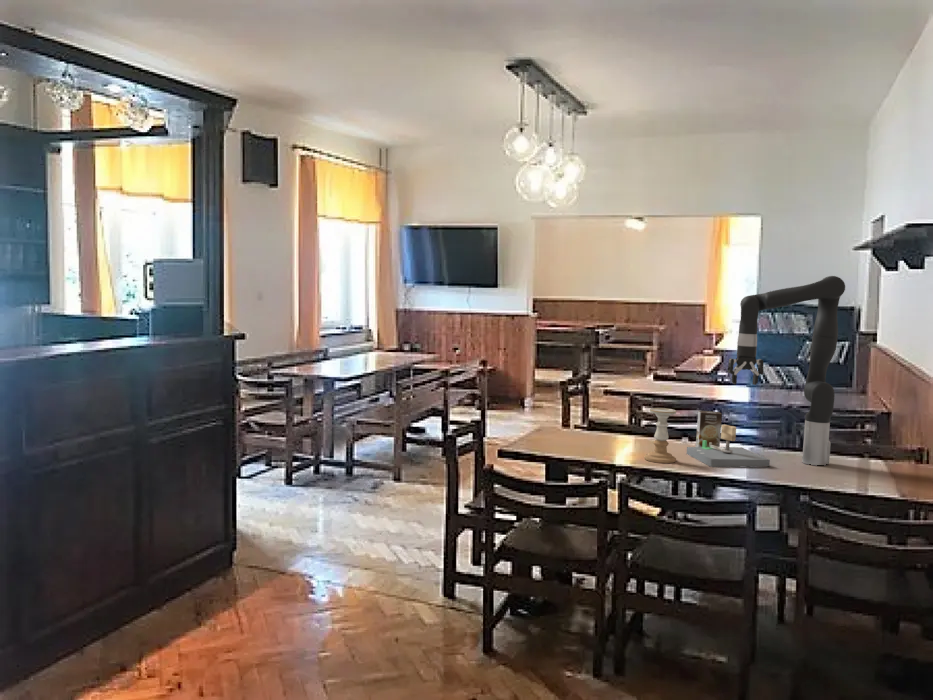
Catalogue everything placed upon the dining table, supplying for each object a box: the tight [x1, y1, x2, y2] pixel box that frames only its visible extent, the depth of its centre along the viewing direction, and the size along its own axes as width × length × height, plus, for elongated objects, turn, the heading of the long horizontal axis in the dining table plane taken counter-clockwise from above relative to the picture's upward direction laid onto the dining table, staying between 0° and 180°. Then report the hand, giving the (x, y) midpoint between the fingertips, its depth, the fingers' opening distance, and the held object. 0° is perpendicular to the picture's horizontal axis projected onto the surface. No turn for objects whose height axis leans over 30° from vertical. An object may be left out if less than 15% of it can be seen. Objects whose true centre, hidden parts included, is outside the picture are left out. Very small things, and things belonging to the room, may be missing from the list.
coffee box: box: [695, 410, 723, 447], centre depth 369 cm, size 9×6×16 cm
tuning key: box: [709, 424, 737, 453], centre depth 349 cm, size 13×4×11 cm, turn 27°
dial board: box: [686, 440, 771, 468], centre depth 347 cm, size 24×24×6 cm
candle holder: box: [644, 407, 677, 464], centre depth 342 cm, size 12×12×20 cm
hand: (744, 384), depth 353 cm, fingers open, 8 cm apart
